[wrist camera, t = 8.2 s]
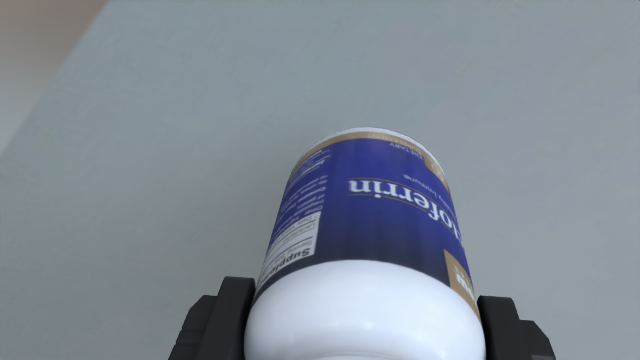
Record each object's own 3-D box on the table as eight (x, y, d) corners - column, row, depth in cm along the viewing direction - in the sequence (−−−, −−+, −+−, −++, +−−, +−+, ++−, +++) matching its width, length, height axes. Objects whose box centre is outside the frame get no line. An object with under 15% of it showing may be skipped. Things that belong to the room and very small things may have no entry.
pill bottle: (482, 180, 16) (596, 496, 8) (380, 275, 19) (386, 583, 11) (347, 87, 15) (315, 351, 7) (258, 204, 18) (157, 493, 9)
